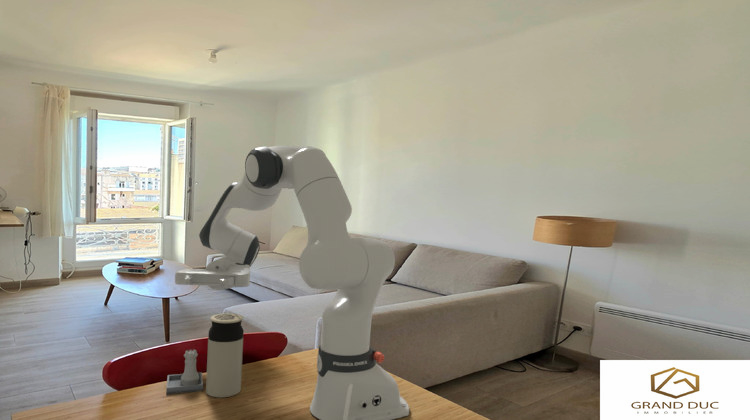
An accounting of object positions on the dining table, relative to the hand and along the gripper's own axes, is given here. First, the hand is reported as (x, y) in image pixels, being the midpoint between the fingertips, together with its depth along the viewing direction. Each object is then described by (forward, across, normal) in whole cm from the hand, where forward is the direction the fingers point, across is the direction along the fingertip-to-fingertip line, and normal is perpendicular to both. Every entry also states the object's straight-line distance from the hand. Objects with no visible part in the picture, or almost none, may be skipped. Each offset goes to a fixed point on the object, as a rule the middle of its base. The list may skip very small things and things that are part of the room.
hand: (205, 282), depth 128 cm
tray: (+12, 0, +23) cm, 26 cm away
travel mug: (+14, +10, +24) cm, 29 cm away
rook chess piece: (+11, +1, +23) cm, 26 cm away
